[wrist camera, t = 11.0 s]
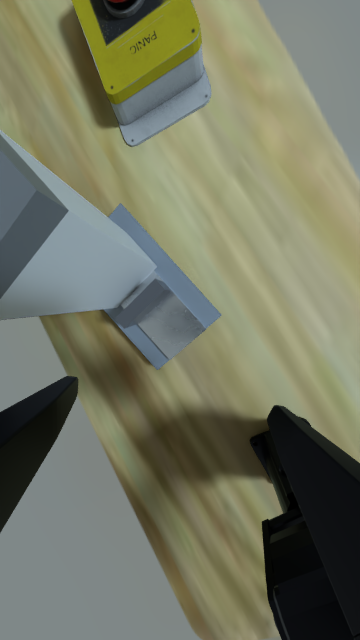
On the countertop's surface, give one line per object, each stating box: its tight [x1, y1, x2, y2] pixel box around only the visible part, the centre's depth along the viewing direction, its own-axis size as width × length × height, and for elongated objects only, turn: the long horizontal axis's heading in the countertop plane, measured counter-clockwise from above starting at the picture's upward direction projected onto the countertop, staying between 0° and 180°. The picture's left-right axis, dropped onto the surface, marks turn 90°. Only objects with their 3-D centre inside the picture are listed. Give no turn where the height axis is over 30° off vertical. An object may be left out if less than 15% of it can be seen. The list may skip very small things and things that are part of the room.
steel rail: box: [121, 271, 206, 360], centre depth 18 cm, size 15×5×1 cm, turn 43°
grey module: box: [0, 130, 157, 320], centre depth 12 cm, size 5×6×12 cm
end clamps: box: [115, 279, 172, 329], centre depth 16 cm, size 10×5×3 cm, turn 43°
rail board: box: [103, 203, 221, 370], centre depth 19 cm, size 15×9×2 cm, turn 43°
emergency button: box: [72, 0, 211, 147], centre depth 15 cm, size 9×4×15 cm
